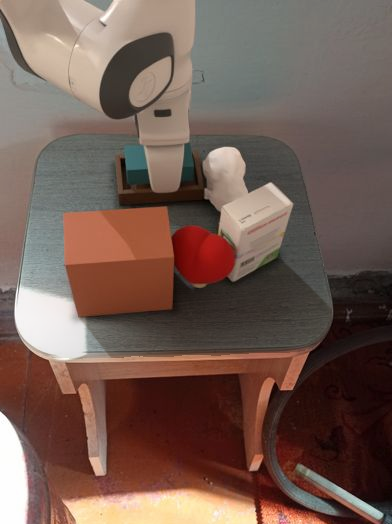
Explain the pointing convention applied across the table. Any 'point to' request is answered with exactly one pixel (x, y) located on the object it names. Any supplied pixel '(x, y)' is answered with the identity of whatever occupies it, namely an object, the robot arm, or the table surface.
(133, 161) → the teal rectangular block
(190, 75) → the robot arm
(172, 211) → the table surface
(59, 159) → the table surface
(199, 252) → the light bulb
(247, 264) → the ink box
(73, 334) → the table surface
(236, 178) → the white irregular lump
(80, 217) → the orange cardboard box
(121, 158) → the brown rectangular tray
